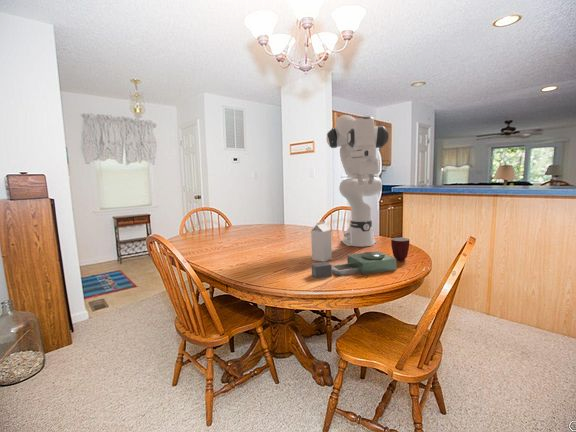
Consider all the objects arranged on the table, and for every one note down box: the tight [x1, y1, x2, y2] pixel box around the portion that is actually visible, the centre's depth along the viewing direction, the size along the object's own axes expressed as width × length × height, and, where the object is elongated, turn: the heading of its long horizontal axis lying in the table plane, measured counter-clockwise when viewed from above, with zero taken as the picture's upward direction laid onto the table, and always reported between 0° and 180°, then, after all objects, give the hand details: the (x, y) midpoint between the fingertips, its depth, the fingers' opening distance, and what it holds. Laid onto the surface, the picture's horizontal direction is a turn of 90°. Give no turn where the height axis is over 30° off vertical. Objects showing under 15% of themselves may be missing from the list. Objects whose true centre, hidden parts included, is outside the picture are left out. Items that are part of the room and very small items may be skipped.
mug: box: [390, 237, 410, 262], centre depth 142 cm, size 11×8×10 cm
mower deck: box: [331, 250, 397, 277], centre depth 133 cm, size 14×26×6 cm, turn 105°
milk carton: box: [310, 220, 333, 262], centre depth 150 cm, size 7×7×19 cm
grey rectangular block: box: [311, 261, 333, 279], centre depth 127 cm, size 5×7×5 cm
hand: (366, 184), depth 136 cm, fingers open, 8 cm apart
